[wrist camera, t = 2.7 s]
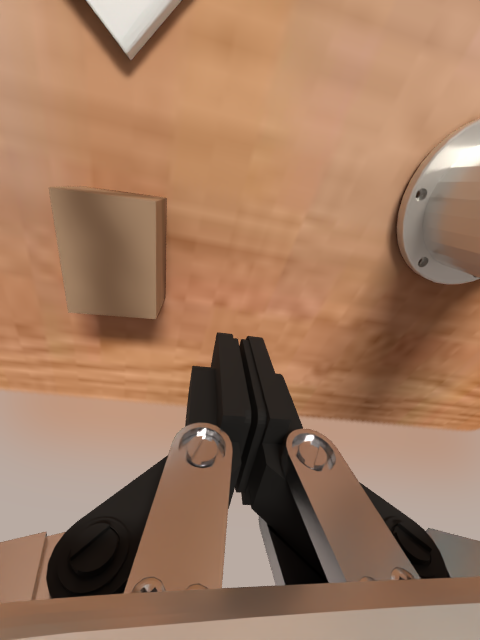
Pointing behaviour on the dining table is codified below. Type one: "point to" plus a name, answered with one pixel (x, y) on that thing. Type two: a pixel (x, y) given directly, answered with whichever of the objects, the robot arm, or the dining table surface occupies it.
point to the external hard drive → (132, 20)
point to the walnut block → (111, 250)
